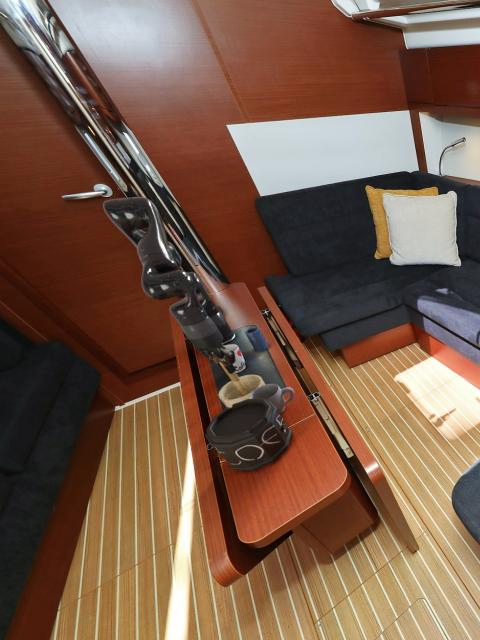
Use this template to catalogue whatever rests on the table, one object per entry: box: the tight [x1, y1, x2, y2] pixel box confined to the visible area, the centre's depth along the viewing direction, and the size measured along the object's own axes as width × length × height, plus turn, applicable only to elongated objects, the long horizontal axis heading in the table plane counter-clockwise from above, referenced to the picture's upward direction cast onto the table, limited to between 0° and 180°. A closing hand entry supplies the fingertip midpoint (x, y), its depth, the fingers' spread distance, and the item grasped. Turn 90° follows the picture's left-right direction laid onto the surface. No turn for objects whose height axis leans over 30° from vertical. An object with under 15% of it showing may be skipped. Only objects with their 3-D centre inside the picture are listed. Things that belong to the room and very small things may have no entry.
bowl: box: [218, 374, 267, 408], centre depth 120 cm, size 13×13×7 cm
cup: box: [223, 343, 246, 374], centre depth 133 cm, size 8×8×10 cm
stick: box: [219, 360, 250, 396], centre depth 116 cm, size 2×2×18 cm
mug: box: [250, 383, 295, 415], centre depth 116 cm, size 12×9×10 cm
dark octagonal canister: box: [205, 399, 293, 471], centre depth 101 cm, size 18×18×16 cm
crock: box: [244, 326, 270, 353], centre depth 145 cm, size 5×5×10 cm
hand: (229, 371), depth 113 cm, fingers closed on stick, 2 cm apart
